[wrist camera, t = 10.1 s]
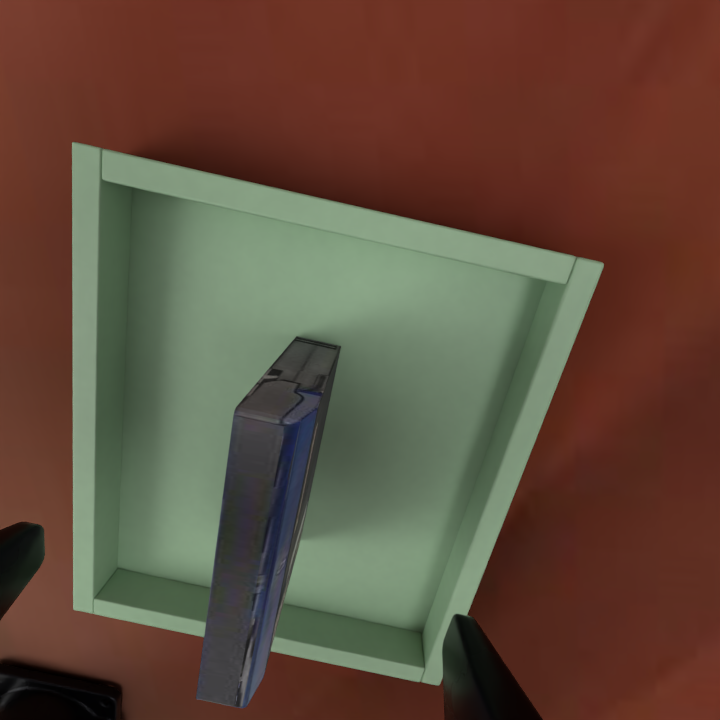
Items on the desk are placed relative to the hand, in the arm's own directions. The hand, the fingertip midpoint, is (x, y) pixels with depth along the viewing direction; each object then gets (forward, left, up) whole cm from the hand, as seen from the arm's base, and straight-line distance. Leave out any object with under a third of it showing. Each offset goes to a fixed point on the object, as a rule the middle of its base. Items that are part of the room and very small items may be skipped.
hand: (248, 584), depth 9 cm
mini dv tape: (0, 0, -6) cm, 6 cm away
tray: (0, 0, -7) cm, 7 cm away
